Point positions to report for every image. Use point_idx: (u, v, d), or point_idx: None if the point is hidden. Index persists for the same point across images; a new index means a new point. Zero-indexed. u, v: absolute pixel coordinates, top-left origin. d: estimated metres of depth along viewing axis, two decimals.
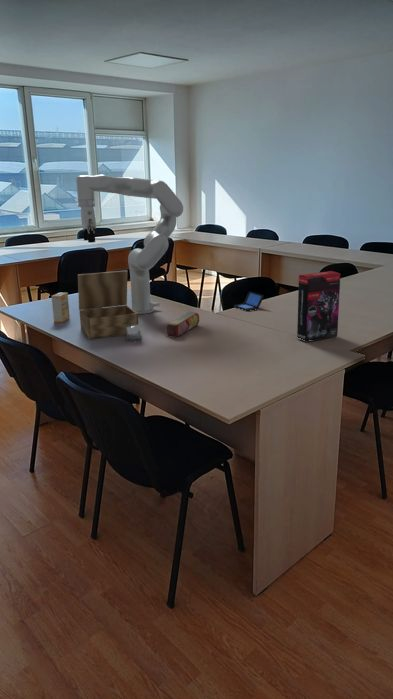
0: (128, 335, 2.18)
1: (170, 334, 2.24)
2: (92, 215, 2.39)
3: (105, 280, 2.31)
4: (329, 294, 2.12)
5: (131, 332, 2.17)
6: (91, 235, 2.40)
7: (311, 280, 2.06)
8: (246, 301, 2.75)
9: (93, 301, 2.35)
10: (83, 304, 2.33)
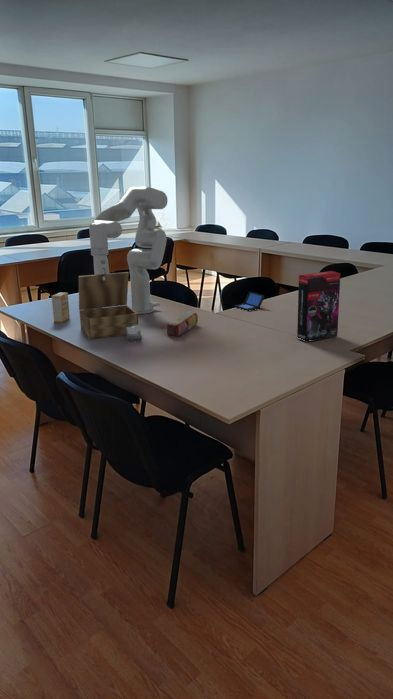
0: (128, 335, 2.18)
1: (171, 334, 2.23)
2: (105, 264, 2.27)
3: (106, 281, 2.30)
4: (329, 294, 2.12)
5: (131, 332, 2.17)
6: None
7: (311, 280, 2.06)
8: (246, 301, 2.75)
9: (93, 301, 2.34)
10: (84, 304, 2.33)
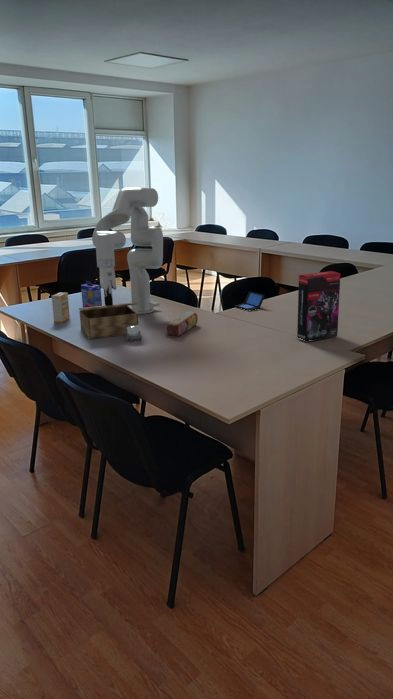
0: (128, 335, 2.18)
1: (171, 334, 2.23)
2: (112, 276, 2.20)
3: None
4: (329, 294, 2.12)
5: (131, 332, 2.17)
6: (108, 298, 2.25)
7: (311, 280, 2.06)
8: (246, 301, 2.75)
9: None
10: None
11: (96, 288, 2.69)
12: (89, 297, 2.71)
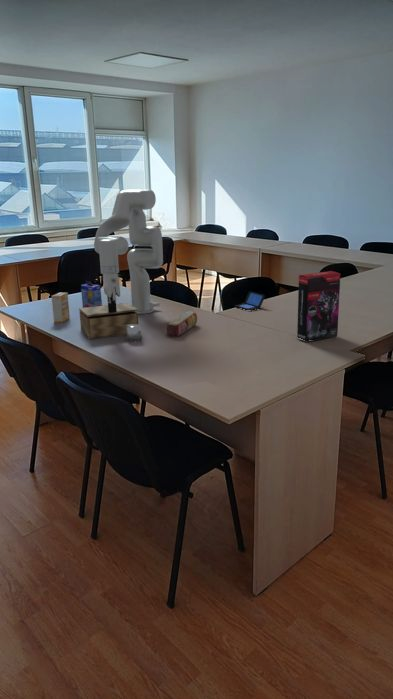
0: (128, 335, 2.18)
1: (171, 334, 2.23)
2: (116, 283, 2.15)
3: None
4: (329, 294, 2.12)
5: (131, 332, 2.17)
6: (112, 305, 2.21)
7: (311, 280, 2.06)
8: (247, 301, 2.75)
9: None
10: None
11: (96, 288, 2.69)
12: (89, 297, 2.71)
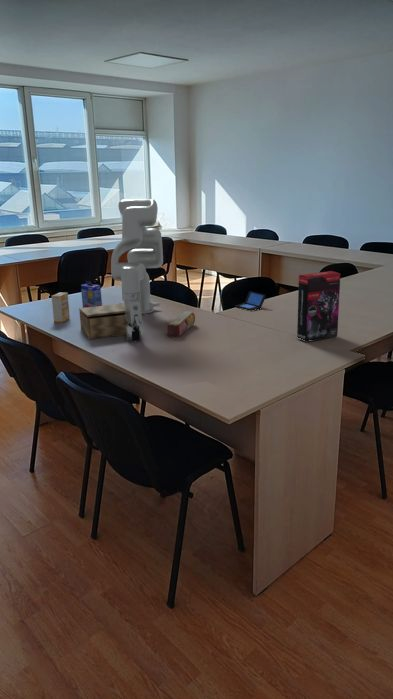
0: (128, 335, 2.18)
1: (171, 334, 2.23)
2: (138, 310, 2.13)
3: None
4: (329, 294, 2.12)
5: (131, 332, 2.17)
6: (136, 333, 2.16)
7: (311, 280, 2.06)
8: (247, 301, 2.75)
9: None
10: None
11: (96, 288, 2.69)
12: (89, 297, 2.71)
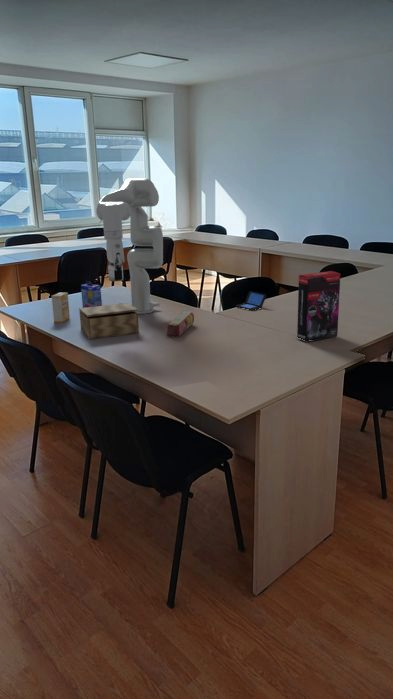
0: (110, 275, 2.18)
1: (171, 334, 2.23)
2: (120, 248, 2.13)
3: None
4: (329, 294, 2.12)
5: (113, 271, 2.17)
6: (118, 272, 2.16)
7: (311, 280, 2.06)
8: (247, 301, 2.76)
9: None
10: None
11: (96, 288, 2.69)
12: (89, 297, 2.71)
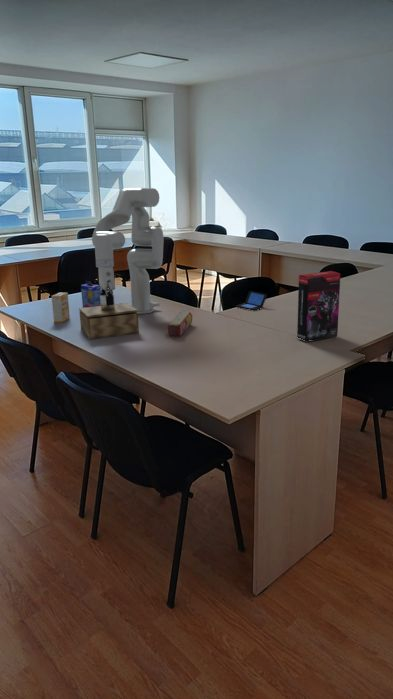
0: (102, 304, 2.28)
1: (172, 335, 2.23)
2: (111, 276, 2.22)
3: None
4: (329, 294, 2.12)
5: (104, 301, 2.26)
6: (109, 298, 2.24)
7: (311, 280, 2.06)
8: (247, 301, 2.76)
9: None
10: None
11: (96, 288, 2.69)
12: (89, 297, 2.71)
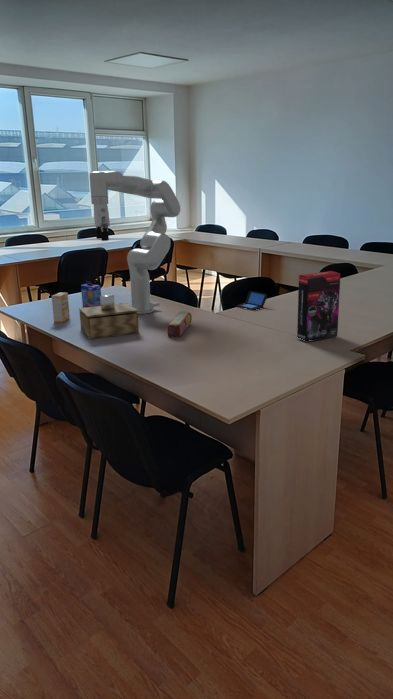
0: (102, 304, 2.28)
1: (172, 335, 2.23)
2: (106, 212, 2.31)
3: None
4: (329, 294, 2.12)
5: (104, 301, 2.26)
6: (104, 233, 2.33)
7: (311, 280, 2.06)
8: (248, 300, 2.76)
9: None
10: None
11: (96, 288, 2.69)
12: (89, 297, 2.71)
